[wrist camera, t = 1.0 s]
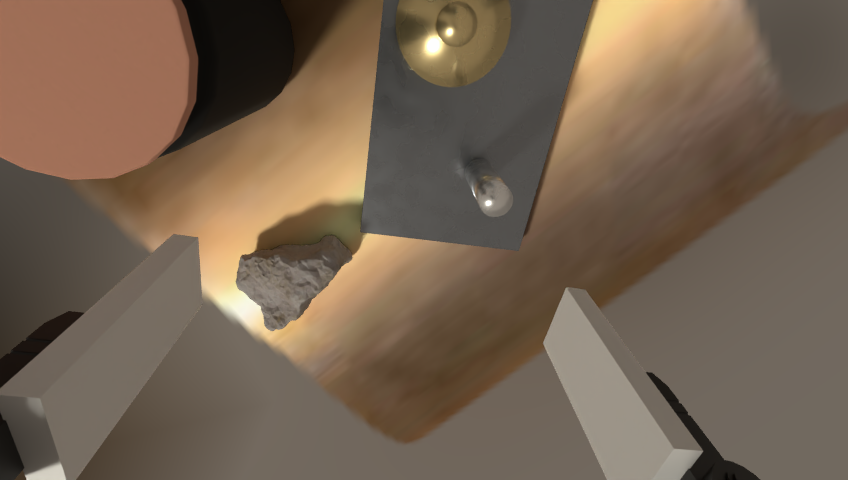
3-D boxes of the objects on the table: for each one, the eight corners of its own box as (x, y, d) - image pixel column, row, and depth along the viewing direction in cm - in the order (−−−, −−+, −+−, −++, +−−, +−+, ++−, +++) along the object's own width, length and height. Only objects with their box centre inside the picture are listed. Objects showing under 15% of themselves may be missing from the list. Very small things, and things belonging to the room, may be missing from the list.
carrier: (390, -58, 28) (387, -93, 21) (589, -16, 30) (654, -35, 23) (361, 225, 38) (352, 271, 30) (514, 243, 40) (542, 291, 32)
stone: (311, 200, 37) (297, 227, 31) (366, 262, 40) (362, 296, 35) (233, 257, 39) (207, 291, 33) (291, 311, 42) (276, 350, 37)
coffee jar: (138, -59, 27) (-230, -200, 11) (297, -33, 29) (169, -126, 13) (161, 103, 32) (-77, 166, 16) (298, 120, 33) (205, 195, 17)
